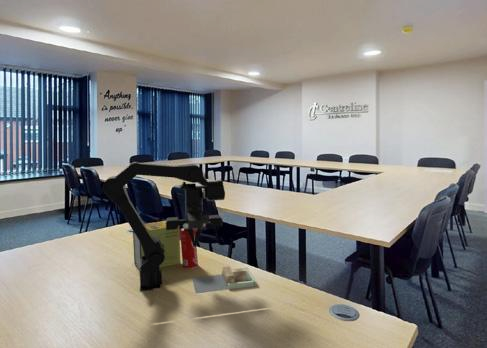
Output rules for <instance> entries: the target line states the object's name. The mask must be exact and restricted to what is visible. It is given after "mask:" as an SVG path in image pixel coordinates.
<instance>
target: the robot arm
mask: <svg viewBox="0 0 487 348" xmlns="http://www.w3.org/2000/svg"><path fill="white" fill-rule="evenodd" d="M136 176H146V177H147V176H148V177H161V178H173V179H178V180H181V181H182V183H181V184H180V185H179V187H178V188H179V190H184V197H185V198H184V203H185V204H184V205H185V219H179V217H178V216H176V217H175V216H174V217H167V218H166V219H165V221H166V229H167V230H172V229H177V228H178V226H179V227H180V226H182V228H184V231H187V232H188V233H189V235H190V237H191V240H192V243H193V246H194V247H196V246H198V242H199V239H200V236H201V234H202V232H203V231H205V230H207V227H206V225H210V224H211V226H213V227H214V228H217V227H223V226H224V225H223V222H224V221H223V217H222V216H221V215H220V214H213V215H211V214H210V212H209V211H208V212H207V211H205V212H203V199H206V201H207V202H212V201H215V202H216V201H224V200H225V199H226V198H225V197H226V191H225V186H224V180H221V179H220V180H219V179H218V180H210V181H208V179H206V178H205V176H204V172H203V169H202V168H201V167H200V166H199V165H197V164H196V163H195V164H194V163H189V164H179V165H167V164H166V165H165V164H154V163H144V162H138V161H133V162H131V163H130V164H129V165H128V166H127V167H126V168H124V169H123V170H122V171H120V172H119V173H118V174H117V175H112V176H109V177H108V178H107V179H106V180H105V181H104V183H103V184H102V192H103V193H104V194H105V195H106V197H108V199H109V200H110V201H111V202H112V203H114V204H115V205H116V206H117V207H118V209H119V211H120V212H121V213H122V215H123V216H124V219H125V220H126V222H127V223H128V224H129V227H130V228H131V229H132V232H133V231H134V233H135V234H136V236H137V238H138V239H139V241H140V243H141V245H142V248H143V252H144V256H143V257H142V258H141V261H140V269H139V291H148V290H149V291H150V290H154V289H160V288H161V285H163V279H162V278H163V273H162V268H160V266H159V265H160V264H162V263H163V261H164V259H165V255H164V252H165V248H164V245H163V244H162V243H161V241H160V239H159V236H157V237H156V238H154V237H153V236H152V235H151V234H150V233H149V231H148V229H147V228H146V226H145V224H146V223H145V222H144V221H143V219H142V217H141V216H140V214H139V212H138V211H137V210H136V207H134V204H133V203H132V201H131V200H130V196H129V193H128V190H127V187H126V185H127V184H128V183H130V182H131V180H133V179H134V178H135V177H136ZM186 182H187V183H186ZM188 182H189V183H188ZM196 183H198V184H199V185H197V184H196ZM193 229H194V230H195V240H194V234H193Z"/></svg>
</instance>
